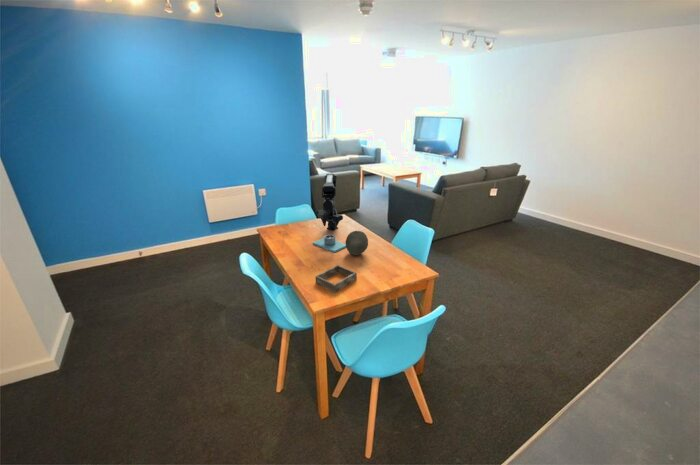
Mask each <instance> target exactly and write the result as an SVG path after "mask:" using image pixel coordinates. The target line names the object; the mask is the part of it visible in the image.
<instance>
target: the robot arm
mask: <svg viewBox="0 0 700 465" xmlns="http://www.w3.org/2000/svg"><path fill="white" fill-rule="evenodd" d="M337 184H338V176H337V175H335V174H334V173H326V175H325V176H324V183H323V186H322V187H321V188H322V189H321V197H322V199H324V201H323V204H322V209H319V210H317V211H316V212H315V214H316V216H317V218H318V219H321V222H322V225H323V226H324V227H326V225H327V227H326V229H327V230H330V231H336V230H338V229H339V227H338V225H339V224H340V222H341V221H342V220H343V219H344V216H343V215H342V214H339V213H338V211H337V209H336V206H335V197H337V196H336V195H337V194H336V192H337V189H336V187H337Z"/></svg>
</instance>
